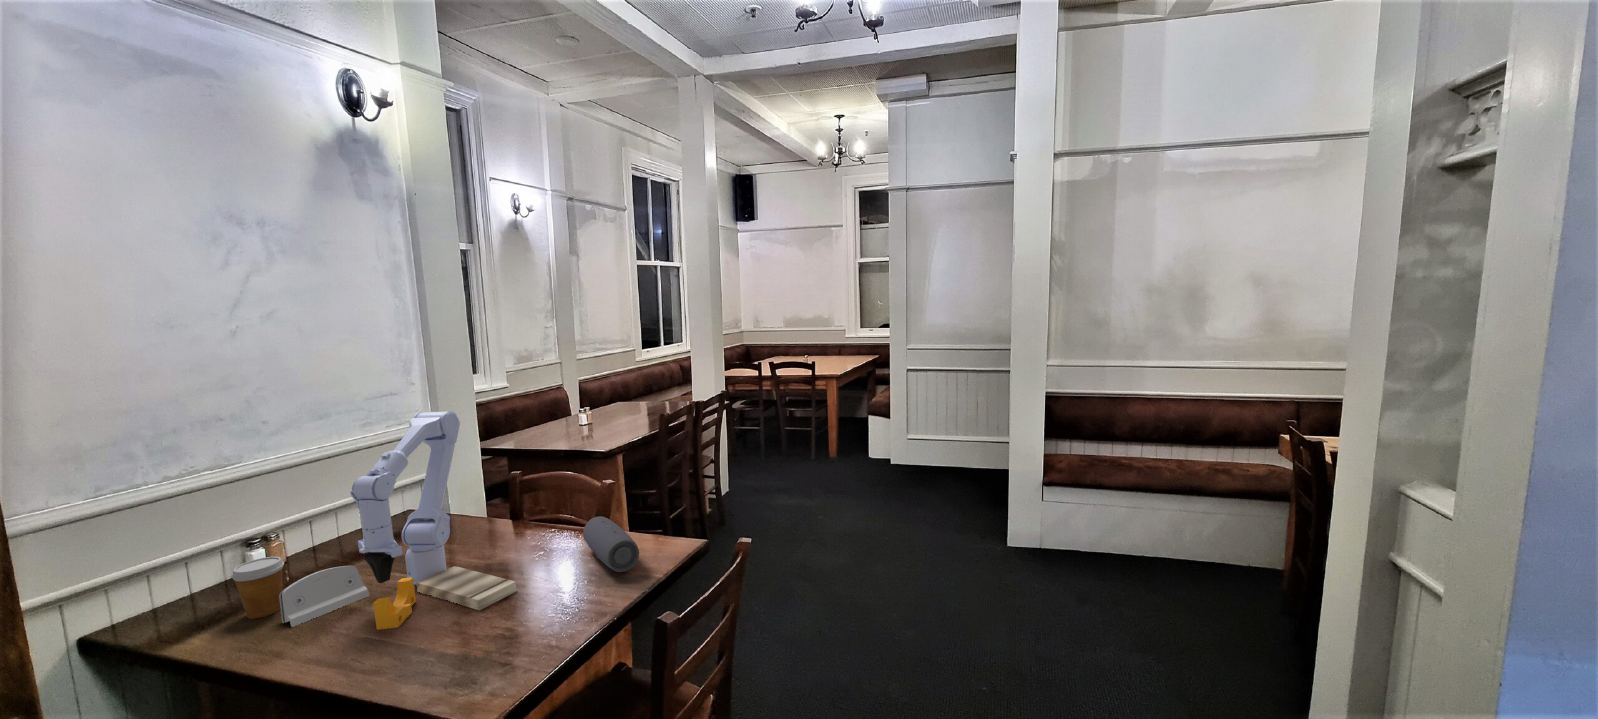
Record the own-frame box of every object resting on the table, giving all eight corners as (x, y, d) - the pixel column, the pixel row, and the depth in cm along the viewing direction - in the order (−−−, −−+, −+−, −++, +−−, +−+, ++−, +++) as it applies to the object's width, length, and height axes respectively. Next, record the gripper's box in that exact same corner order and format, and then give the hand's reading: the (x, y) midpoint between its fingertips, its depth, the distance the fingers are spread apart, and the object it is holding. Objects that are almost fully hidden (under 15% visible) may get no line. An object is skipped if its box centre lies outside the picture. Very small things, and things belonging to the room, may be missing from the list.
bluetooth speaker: (643, 570, 160) (640, 533, 158) (607, 581, 154) (604, 543, 153) (615, 544, 178) (612, 510, 177) (582, 552, 173) (579, 518, 172)
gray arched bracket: (290, 627, 139) (278, 585, 140) (282, 630, 142) (270, 588, 142) (371, 595, 154) (360, 556, 154) (363, 597, 156) (351, 559, 157)
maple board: (417, 591, 154) (416, 582, 154) (455, 574, 163) (454, 565, 162) (479, 610, 143) (478, 599, 142) (516, 591, 152) (515, 581, 151)
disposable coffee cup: (299, 604, 150) (292, 557, 149) (254, 624, 141) (247, 575, 140) (273, 600, 153) (267, 554, 152) (228, 619, 145) (220, 570, 143)
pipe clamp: (397, 628, 137) (394, 600, 136) (376, 630, 136) (373, 602, 136) (423, 601, 149) (420, 576, 148) (404, 603, 148) (401, 578, 148)
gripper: (341, 527, 144) (348, 583, 145) (376, 535, 137) (383, 594, 138) (373, 517, 150) (380, 570, 151) (408, 524, 143) (415, 580, 145)
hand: (383, 581), depth 145 cm, fingers closed
